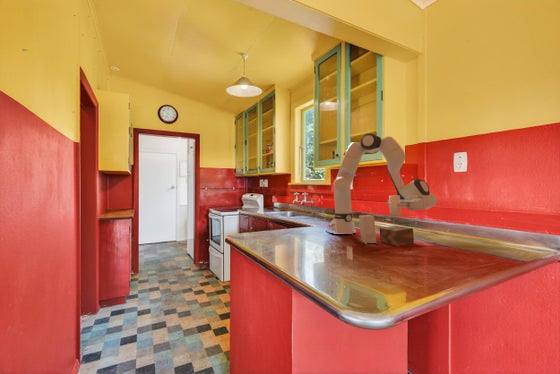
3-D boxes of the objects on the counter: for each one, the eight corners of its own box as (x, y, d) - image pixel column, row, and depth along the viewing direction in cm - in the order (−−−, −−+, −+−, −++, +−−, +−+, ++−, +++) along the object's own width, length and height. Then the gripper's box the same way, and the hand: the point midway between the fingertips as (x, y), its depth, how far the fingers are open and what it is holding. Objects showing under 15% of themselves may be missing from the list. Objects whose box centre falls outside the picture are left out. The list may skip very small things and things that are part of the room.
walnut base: (380, 241, 143) (379, 227, 143) (396, 239, 148) (395, 225, 148) (396, 246, 132) (395, 230, 132) (413, 243, 136) (413, 228, 136)
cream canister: (387, 215, 141) (386, 195, 141) (395, 214, 143) (394, 195, 143) (395, 216, 136) (394, 196, 136) (403, 215, 138) (402, 195, 138)
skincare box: (376, 244, 139) (375, 216, 139) (364, 244, 139) (362, 216, 139) (371, 240, 147) (369, 214, 147) (359, 241, 147) (358, 214, 147)
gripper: (397, 196, 154) (379, 198, 149) (427, 197, 135) (408, 199, 130) (398, 207, 154) (380, 209, 149) (428, 209, 135) (408, 211, 130)
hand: (393, 204), depth 140 cm, fingers closed on cream canister, 5 cm apart
